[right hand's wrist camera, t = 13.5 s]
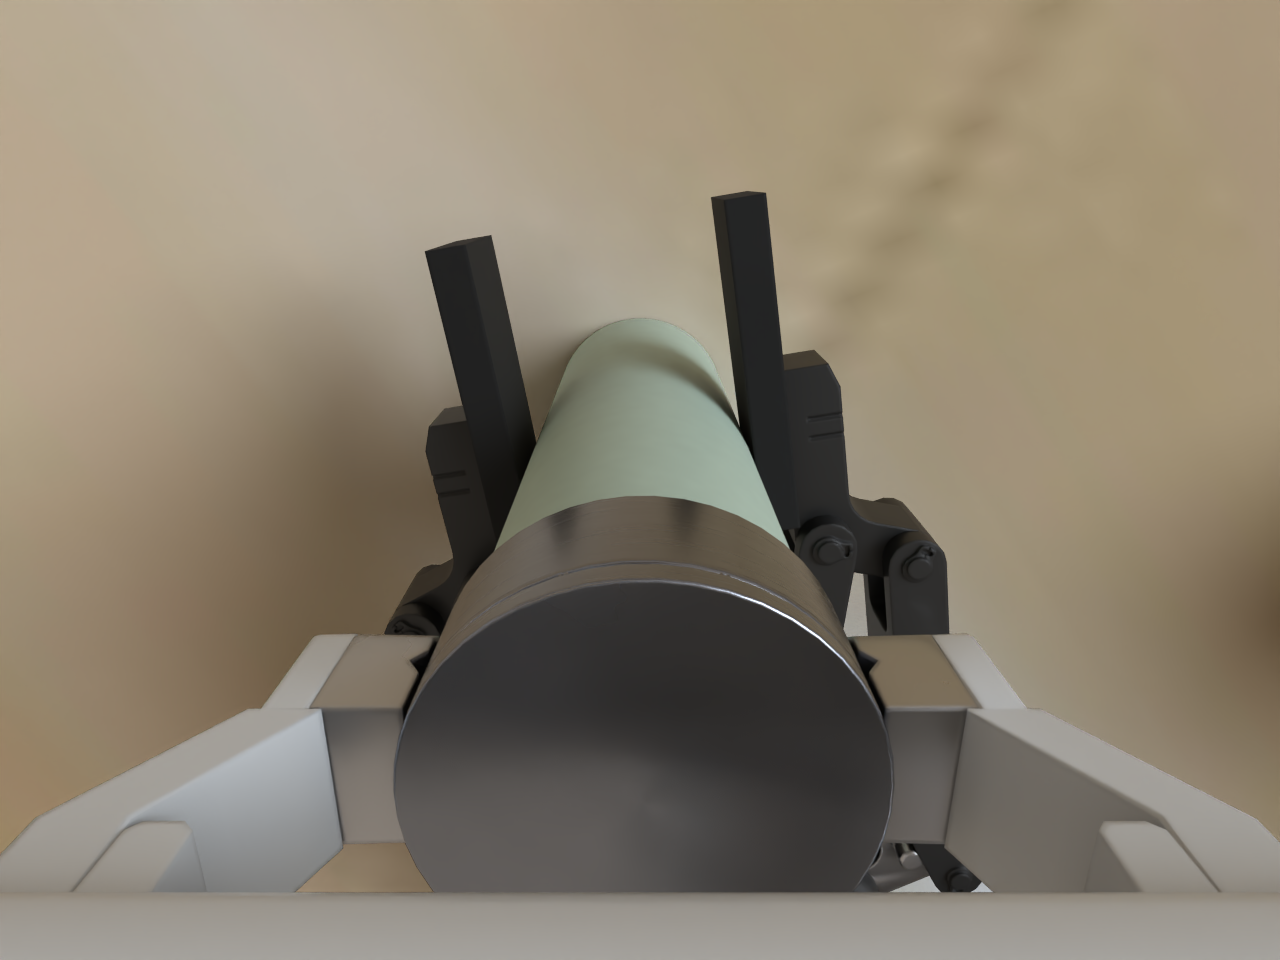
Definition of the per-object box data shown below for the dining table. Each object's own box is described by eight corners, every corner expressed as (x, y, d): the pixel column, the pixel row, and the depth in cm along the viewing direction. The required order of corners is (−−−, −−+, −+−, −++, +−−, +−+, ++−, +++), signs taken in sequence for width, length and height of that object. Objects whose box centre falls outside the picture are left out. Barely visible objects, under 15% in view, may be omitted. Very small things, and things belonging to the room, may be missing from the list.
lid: (402, 785, 11) (348, 924, 9) (499, 437, 9) (457, 511, 7) (760, 875, 11) (785, 1027, 9) (910, 563, 10) (982, 664, 8)
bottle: (542, 447, 24) (383, 882, 9) (586, 295, 23) (484, 520, 8) (690, 492, 25) (769, 974, 10) (743, 347, 23) (936, 651, 8)
